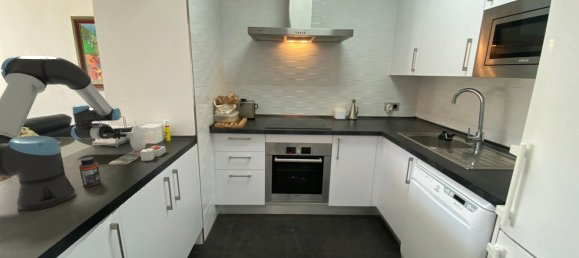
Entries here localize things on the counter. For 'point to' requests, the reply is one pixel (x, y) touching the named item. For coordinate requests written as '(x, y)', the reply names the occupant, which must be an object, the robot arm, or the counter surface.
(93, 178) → the supplement bottle
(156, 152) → the button housing
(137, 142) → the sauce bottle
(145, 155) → the ivory die
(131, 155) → the track board
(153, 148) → the red button
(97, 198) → the counter surface
